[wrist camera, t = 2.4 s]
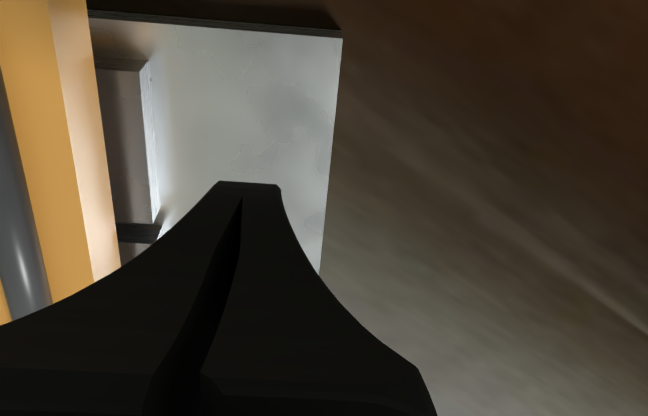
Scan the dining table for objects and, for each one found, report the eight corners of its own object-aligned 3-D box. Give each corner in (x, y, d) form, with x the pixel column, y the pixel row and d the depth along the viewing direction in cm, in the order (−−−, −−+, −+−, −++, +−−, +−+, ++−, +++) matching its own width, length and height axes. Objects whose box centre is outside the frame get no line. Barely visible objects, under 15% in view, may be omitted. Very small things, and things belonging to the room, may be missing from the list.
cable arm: (143, 438, 25) (121, 515, 22) (61, 434, 25) (27, 512, 22) (80, -39, 15) (21, -11, 12) (-62, -51, 15) (-158, -27, 12)
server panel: (305, 392, 28) (304, 439, 26) (-66, 375, 27) (-101, 422, 25) (341, 30, 19) (345, 54, 17) (-225, -17, 18) (-303, 2, 16)
